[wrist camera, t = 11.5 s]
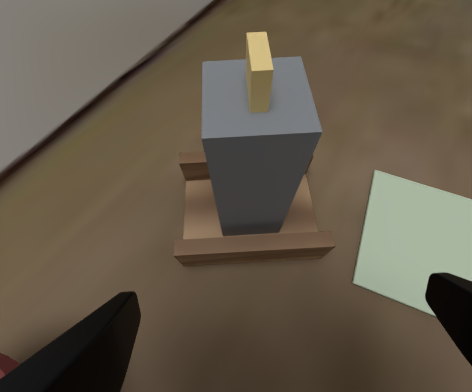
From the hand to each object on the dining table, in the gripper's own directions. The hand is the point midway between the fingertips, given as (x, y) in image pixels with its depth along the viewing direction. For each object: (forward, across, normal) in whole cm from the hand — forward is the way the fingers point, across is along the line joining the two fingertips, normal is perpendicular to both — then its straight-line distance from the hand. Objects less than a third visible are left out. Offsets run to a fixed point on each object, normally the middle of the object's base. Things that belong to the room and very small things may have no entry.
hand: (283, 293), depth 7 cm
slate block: (+15, 0, +3) cm, 15 cm away
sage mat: (+13, -15, +6) cm, 21 cm away
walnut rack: (+16, 0, +4) cm, 16 cm away
